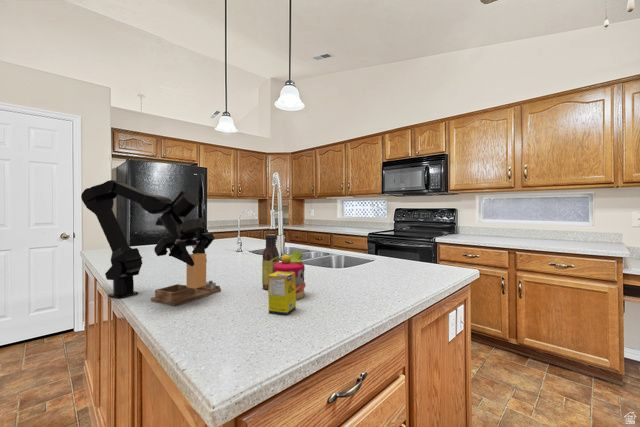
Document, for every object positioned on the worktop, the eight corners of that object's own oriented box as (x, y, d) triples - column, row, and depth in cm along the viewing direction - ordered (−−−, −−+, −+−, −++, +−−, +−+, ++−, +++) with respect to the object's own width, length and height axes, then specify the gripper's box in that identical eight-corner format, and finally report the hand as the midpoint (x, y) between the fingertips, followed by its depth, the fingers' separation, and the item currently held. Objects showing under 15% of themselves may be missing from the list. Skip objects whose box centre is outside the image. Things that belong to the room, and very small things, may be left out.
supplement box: (296, 308, 89) (295, 272, 89) (287, 315, 83) (287, 276, 83) (277, 306, 91) (277, 270, 91) (268, 313, 85) (267, 274, 85)
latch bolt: (202, 288, 107) (202, 280, 107) (207, 287, 109) (207, 279, 109) (210, 290, 105) (210, 282, 105) (215, 288, 108) (215, 280, 107)
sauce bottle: (275, 290, 108) (275, 235, 108) (259, 289, 110) (259, 235, 109) (281, 286, 115) (281, 233, 114) (266, 285, 116) (265, 233, 116)
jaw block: (186, 287, 93) (186, 254, 93) (198, 283, 97) (198, 252, 97) (194, 288, 92) (194, 255, 91) (206, 285, 95) (206, 253, 95)
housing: (151, 301, 97) (151, 288, 97) (198, 287, 113) (198, 276, 113) (175, 306, 92) (175, 293, 92) (220, 291, 108) (220, 280, 108)
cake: (292, 303, 94) (292, 255, 94) (266, 298, 100) (266, 252, 100) (311, 295, 103) (310, 251, 103) (286, 290, 109) (286, 249, 108)
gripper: (160, 209, 87) (186, 251, 82) (210, 209, 104) (235, 243, 99) (143, 235, 91) (167, 276, 86) (194, 231, 108) (217, 265, 103)
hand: (199, 264), depth 94 cm, fingers closed on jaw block, 4 cm apart
